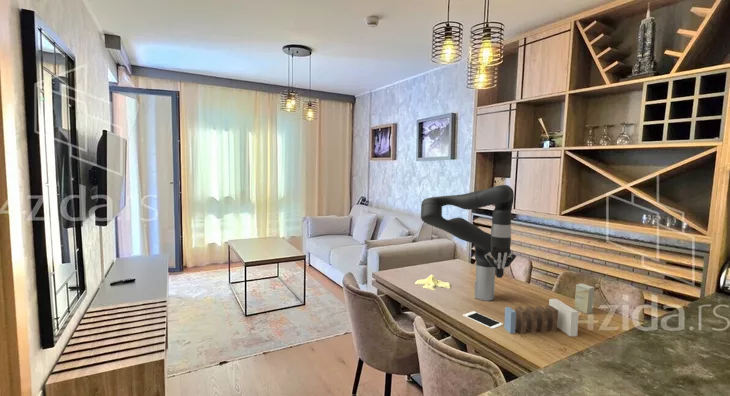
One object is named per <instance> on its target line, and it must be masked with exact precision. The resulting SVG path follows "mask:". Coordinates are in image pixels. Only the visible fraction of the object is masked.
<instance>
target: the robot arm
mask: <svg viewBox="0 0 730 396" xmlns="http://www.w3.org/2000/svg"><path fill="white" fill-rule="evenodd" d="M514 197H515V194H514V190H513V188H512V187H511V186H510V185H508V184H501V185H500V184H499V185H496V186H492V187H489V188H486V189H480V190H475V191H471V192H467V193H463V194H455V195H453V194H452V195H441V196H440V195H439V196H433V197H427V198H425V199H424V198H423V200H422V202H421V204H420V205H421V207H420V208H421V209H420V219H421V221H422V222H423V223H425V224H426V225H429V226H431V227H434V228H437V229H440V230H442V231H444V232H446V233H448V234H451V235H452V236H453V237H455V238H458V239H460V240H461V241H465V242H467V243H471V244H474V259H475V264H476V265H475V280H474V299H478V300H480V301H487V302H488V301H494V299H495V285H496V284H495V281H496V278H499V279H501V278H503V277H504V273H505V272H504V269H505V268H509V266H511V264H512V262H514V260H515V259H516V258H517V254H514V253H513V252H512V250H511V246H512V244H511V243H512V242H511V241H512V208H513V205H514ZM445 206H454V207H457V208H460V209H463V210H476V209H481V208H485V207H488V206H494V209H493V211H492V215H491V216H492V217H491V227H490V233H488V232H486V231H484V230H482V229H481V228H480V227H478V226H476V225H474V224H472V223H471V222H470V221H468V220H466V219H465V218H463V217H453V218H450V219H446V218H445V217H443V210H442V209H443V207H445Z"/></svg>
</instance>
